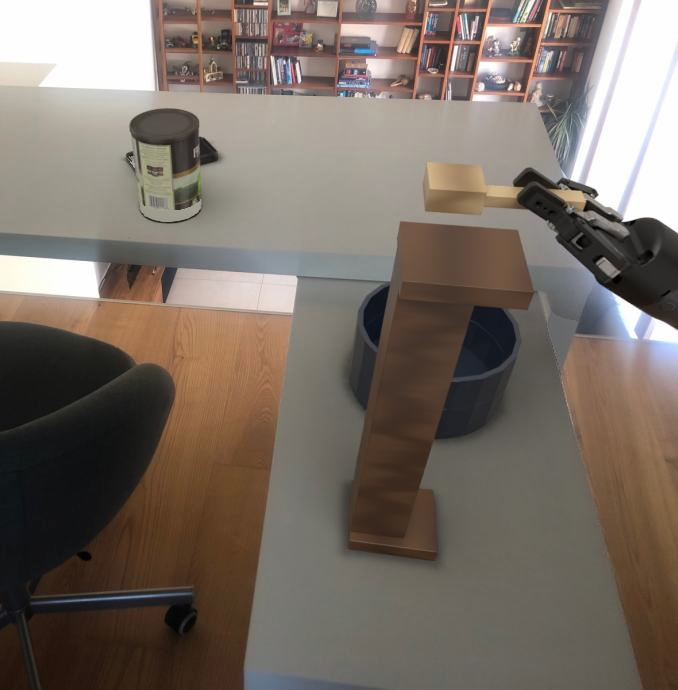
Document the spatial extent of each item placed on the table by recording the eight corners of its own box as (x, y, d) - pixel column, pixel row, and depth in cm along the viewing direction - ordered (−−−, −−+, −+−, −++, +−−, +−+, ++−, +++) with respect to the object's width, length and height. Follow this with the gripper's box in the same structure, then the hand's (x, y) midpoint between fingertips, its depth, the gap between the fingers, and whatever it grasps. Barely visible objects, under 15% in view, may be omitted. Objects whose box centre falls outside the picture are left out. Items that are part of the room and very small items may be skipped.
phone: (219, 153, 121) (138, 172, 117) (220, 159, 122) (139, 178, 117) (202, 135, 126) (123, 152, 122) (202, 141, 127) (124, 158, 123)
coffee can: (198, 186, 115) (195, 104, 106) (206, 220, 108) (203, 135, 98) (136, 192, 114) (127, 110, 105) (140, 226, 107) (130, 141, 97)
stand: (430, 498, 70) (518, 229, 48) (434, 561, 65) (534, 292, 43) (350, 488, 71) (400, 220, 49) (348, 549, 66) (402, 280, 44)
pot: (490, 340, 87) (509, 283, 80) (509, 447, 74) (533, 389, 68) (351, 327, 89) (359, 270, 83) (346, 428, 76) (356, 371, 70)
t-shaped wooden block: (424, 211, 64) (429, 188, 62) (422, 184, 67) (426, 161, 66) (585, 222, 62) (594, 199, 60) (574, 193, 65) (582, 170, 64)
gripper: (673, 207, 69) (541, 116, 65) (722, 293, 59) (570, 192, 55) (609, 257, 74) (483, 176, 70) (645, 344, 64) (500, 255, 60)
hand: (522, 183), depth 63 cm, fingers closed on t-shaped wooden block, 2 cm apart
